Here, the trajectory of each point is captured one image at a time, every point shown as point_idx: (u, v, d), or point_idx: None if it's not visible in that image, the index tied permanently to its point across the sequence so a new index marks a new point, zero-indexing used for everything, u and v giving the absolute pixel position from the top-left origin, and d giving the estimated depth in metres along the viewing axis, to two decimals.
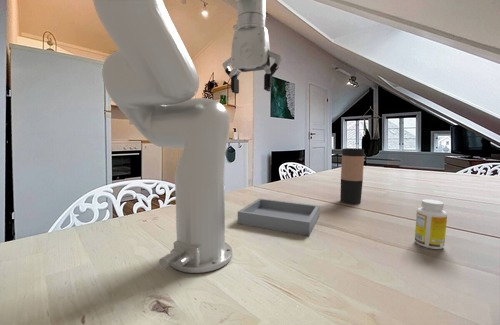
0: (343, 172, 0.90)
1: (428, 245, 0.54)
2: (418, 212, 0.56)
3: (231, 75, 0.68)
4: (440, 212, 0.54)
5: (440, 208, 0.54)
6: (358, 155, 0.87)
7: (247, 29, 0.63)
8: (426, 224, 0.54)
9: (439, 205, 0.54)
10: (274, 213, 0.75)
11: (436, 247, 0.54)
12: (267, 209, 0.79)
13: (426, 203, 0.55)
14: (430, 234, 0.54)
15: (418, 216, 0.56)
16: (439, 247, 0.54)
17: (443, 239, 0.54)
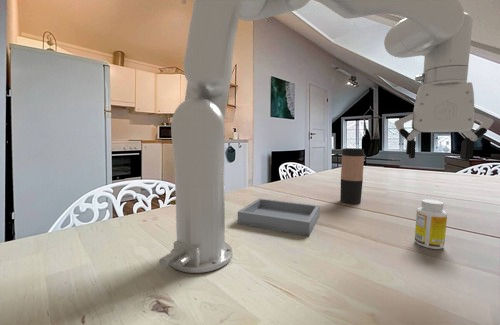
0: (343, 172, 0.90)
1: (428, 245, 0.54)
2: (418, 212, 0.56)
3: (410, 137, 0.55)
4: (440, 212, 0.54)
5: (440, 208, 0.54)
6: (358, 155, 0.87)
7: (447, 85, 0.50)
8: (426, 224, 0.54)
9: (439, 205, 0.54)
10: (274, 213, 0.75)
11: (436, 247, 0.54)
12: (267, 209, 0.79)
13: (426, 203, 0.55)
14: (430, 234, 0.54)
15: (418, 216, 0.56)
16: (439, 247, 0.54)
17: (443, 239, 0.54)
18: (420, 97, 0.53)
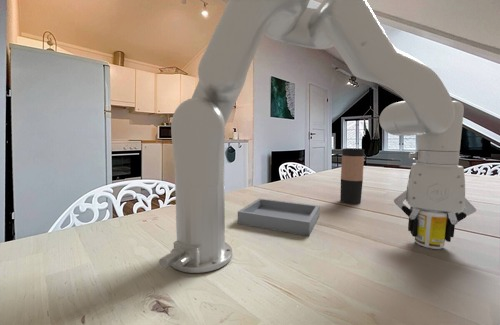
0: (343, 172, 0.90)
1: (428, 245, 0.54)
2: (418, 212, 0.56)
3: (413, 216, 0.56)
4: (440, 212, 0.54)
5: None
6: (358, 155, 0.87)
7: (439, 168, 0.52)
8: (426, 223, 0.54)
9: None
10: (274, 213, 0.75)
11: (436, 247, 0.54)
12: (267, 209, 0.79)
13: None
14: (430, 234, 0.54)
15: (418, 216, 0.56)
16: (439, 247, 0.54)
17: (443, 239, 0.54)
18: (413, 176, 0.54)
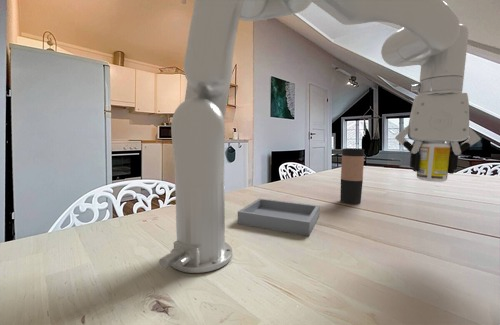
0: (343, 172, 0.90)
1: (430, 178, 0.53)
2: (420, 146, 0.55)
3: (415, 151, 0.55)
4: (443, 143, 0.52)
5: None
6: (358, 155, 0.87)
7: (443, 95, 0.51)
8: (428, 155, 0.53)
9: None
10: (274, 213, 0.75)
11: (439, 179, 0.52)
12: (267, 209, 0.79)
13: None
14: (433, 166, 0.52)
15: (420, 150, 0.55)
16: (442, 179, 0.52)
17: (446, 171, 0.52)
18: (416, 106, 0.53)
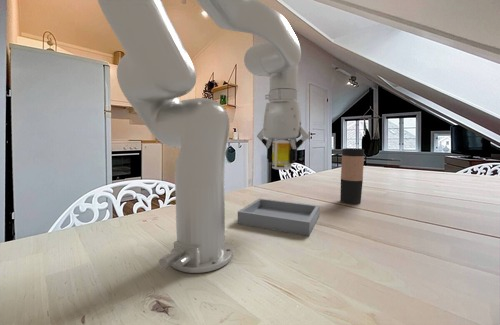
0: (343, 172, 0.90)
1: (276, 166, 0.68)
2: (272, 142, 0.70)
3: (268, 146, 0.70)
4: (284, 139, 0.67)
5: None
6: (358, 155, 0.87)
7: (280, 103, 0.66)
8: (274, 149, 0.68)
9: None
10: (274, 213, 0.75)
11: (281, 167, 0.68)
12: (267, 209, 0.79)
13: None
14: (277, 157, 0.68)
15: (272, 145, 0.70)
16: (283, 167, 0.68)
17: (287, 161, 0.68)
18: (265, 111, 0.68)
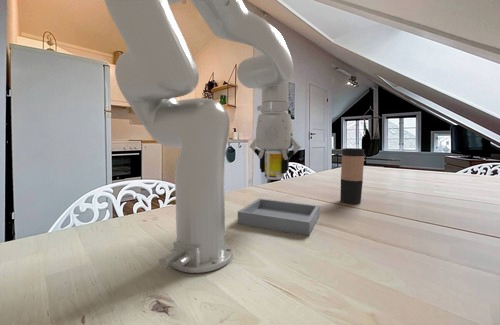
0: (343, 172, 0.90)
1: (268, 177, 0.70)
2: None
3: (260, 156, 0.71)
4: (276, 150, 0.69)
5: None
6: (358, 155, 0.87)
7: (272, 115, 0.67)
8: (266, 160, 0.70)
9: None
10: (274, 213, 0.75)
11: (273, 177, 0.69)
12: (267, 209, 0.79)
13: None
14: (269, 168, 0.69)
15: None
16: (276, 177, 0.69)
17: (279, 171, 0.69)
18: (257, 123, 0.70)
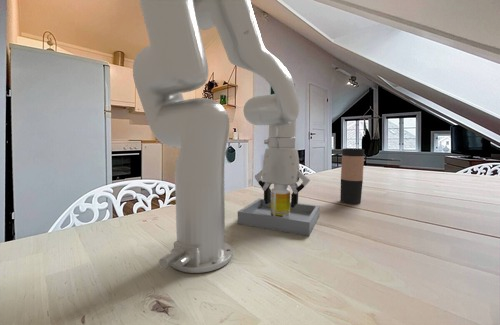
0: (343, 172, 0.90)
1: None
2: (271, 191, 0.72)
3: (264, 188, 0.72)
4: (283, 190, 0.69)
5: (283, 187, 0.69)
6: (358, 155, 0.87)
7: (279, 150, 0.67)
8: (273, 199, 0.70)
9: (282, 185, 0.69)
10: None
11: None
12: (267, 209, 0.79)
13: None
14: (275, 207, 0.69)
15: (271, 194, 0.72)
16: None
17: (285, 211, 0.69)
18: (264, 157, 0.70)
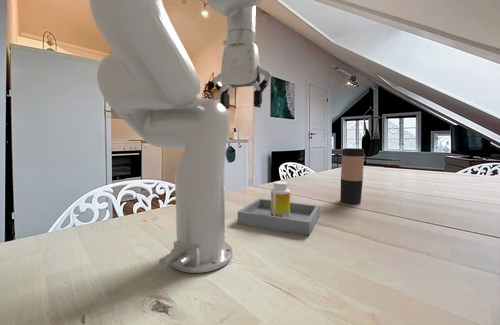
0: (343, 172, 0.90)
1: None
2: (271, 191, 0.72)
3: (221, 91, 0.68)
4: (282, 190, 0.69)
5: (282, 187, 0.69)
6: (358, 155, 0.87)
7: (236, 46, 0.63)
8: (273, 199, 0.70)
9: (281, 185, 0.69)
10: None
11: None
12: (267, 209, 0.79)
13: (274, 183, 0.70)
14: (275, 207, 0.69)
15: None
16: None
17: (285, 211, 0.69)
18: (222, 57, 0.65)
